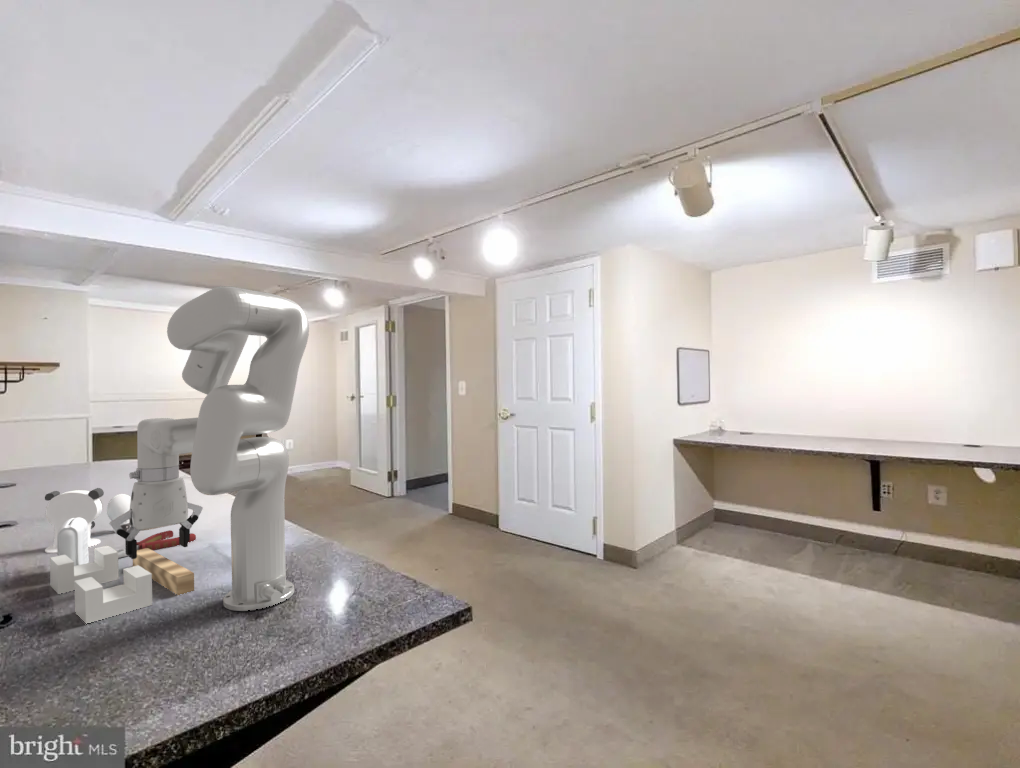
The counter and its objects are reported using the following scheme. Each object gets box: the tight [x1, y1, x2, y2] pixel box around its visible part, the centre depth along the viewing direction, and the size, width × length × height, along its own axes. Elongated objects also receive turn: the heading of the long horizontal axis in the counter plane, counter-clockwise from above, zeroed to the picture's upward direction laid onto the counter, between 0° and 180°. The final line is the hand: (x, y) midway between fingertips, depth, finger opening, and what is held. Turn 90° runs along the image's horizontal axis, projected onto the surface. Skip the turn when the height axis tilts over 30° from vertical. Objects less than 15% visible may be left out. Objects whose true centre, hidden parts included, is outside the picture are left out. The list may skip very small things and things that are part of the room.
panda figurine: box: [44, 487, 105, 554], centre depth 136 cm, size 12×11×15 cm
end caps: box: [49, 545, 153, 625], centre depth 103 cm, size 30×10×6 cm, turn 51°
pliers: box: [116, 529, 197, 559], centre depth 132 cm, size 11×20×3 cm, turn 158°
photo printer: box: [56, 517, 90, 566], centre depth 116 cm, size 10×4×12 cm, turn 29°
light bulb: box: [106, 493, 131, 531], centre depth 150 cm, size 7×7×11 cm
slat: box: [132, 548, 195, 596], centre depth 111 cm, size 28×3×4 cm, turn 52°
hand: (158, 551), depth 112 cm, fingers open, 9 cm apart
